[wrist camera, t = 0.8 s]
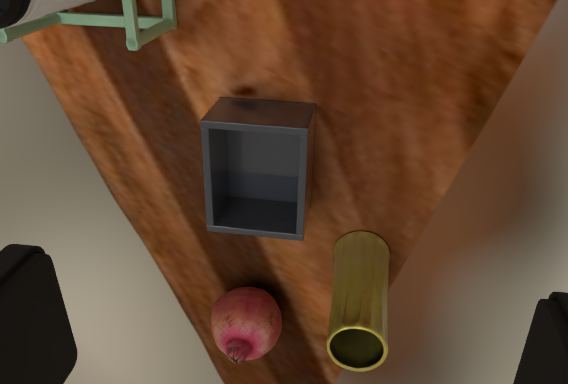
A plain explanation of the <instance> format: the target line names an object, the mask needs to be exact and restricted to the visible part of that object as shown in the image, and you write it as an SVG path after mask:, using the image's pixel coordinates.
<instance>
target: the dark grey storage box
mask: <svg viewBox="0 0 568 384" xmlns="http://www.w3.org/2000/svg"><path fill="white" fill-rule="evenodd" d="M315 114H316V104H313V103H299V102H284V101H270V100H256V99H242V98H228V97H220V98H219V99H218V100H217V102H216V103H215V104H214V105H213V106H212V108H211V109H210V110H209V111H208V112H207V113H206V115H205V116H204V117H203V118H202V119H201V121H200V123H201V139H202V155H203V171H204V187H205V203H206V220H207V231H213V232H223V233H232V234H242V235H251V236H261V237H270V238H280V239H289V240H299V241H303V238H304V234H305V229H306V225H307V221H308V216H309V212H310V207H311V191H312V171H313V152H314V133H315Z"/></svg>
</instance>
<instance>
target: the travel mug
mask: <svg viewBox="0 0 568 384" xmlns="http://www.w3.org/2000/svg"><path fill="white" fill-rule="evenodd" d="M93 1H96V0H0V29H4V28H9V27H13V26H15V25H19V24H22V23H25V22H29V21H32V20H35V19H38V18H41V17H45V16H48V15H51V14H54V13H57V12H61V11H64V10H67V9H70V8H73V7H77V6H80V5H83V4H86V3H89V2H93Z"/></svg>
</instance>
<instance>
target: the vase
mask: <svg viewBox="0 0 568 384" xmlns="http://www.w3.org/2000/svg"><path fill="white" fill-rule="evenodd" d="M333 259H334V274H333V286H332V302H331V312H330V320H329V328H328V336H327V351H328V353H329V355H330V357H331V359H332V360H333V361H334V362H335V363H336V364H337V365H339V366H341V367H343V368H345V369H348V370H352V371H368V370H371V369H374V368H376V367H378V366H379V365H380V364H382V363H383V361H384V360H385V358H386V356H387V354H388V327H387V294H388V278H389V261H390V252H389V249H388V246H387V244H386V243H385V242H384V241H383V240H382V239H381V238H380V237H379V236H377V235H375V234H373V233H370V232H365V231H356V232H351V233H348V234H346V235H344V236H343V237H341V238H340V239H339V240H338V242H337V243H336V245H335V247H334V251H333Z"/></svg>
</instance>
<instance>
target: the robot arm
mask: <svg viewBox="0 0 568 384" xmlns="http://www.w3.org/2000/svg"><path fill="white" fill-rule="evenodd" d="M76 360H77V348H76V344H75V341H74V337H73V334H72V330H71V326H70V323H69V319H68V315H67V312H66V308H65V305H64V301H63V298H62V294H61V290H60V287H59V283H58V280H57V276H56V272H55V269H54V265H53V262H52V259H51V257H50V256H49V255H47V254H45V252H44V250H43V249H42V248H41V247H39V246H31V245H20V244H10V245H8V246H6V247H5V248H3V250H1V251H0V384H63V383H64V382H65V380H66V378H67V377H68V376H69V374H70V373H71V371H72V369H73V368H74V366H75V363H76ZM513 384H568V293H564V292H552V294H550V296H549V298H548V299H540V300H539V301H538V304H537V306H536V310H535V313H534V316H533V320H532V323H531V326H530V330H529V333H528V336H527V340H526V343H525V347H524V350H523V353H522V356H521V360H520V363H519V366H518V370H517V374H516V377H515V380H514V383H513Z"/></svg>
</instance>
